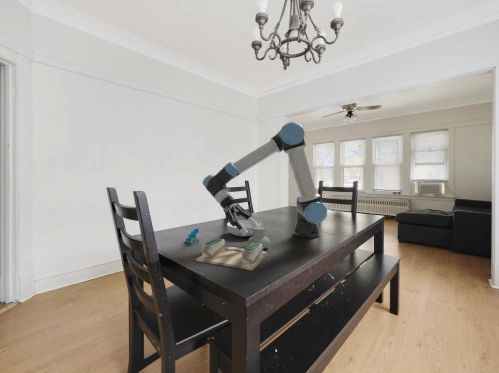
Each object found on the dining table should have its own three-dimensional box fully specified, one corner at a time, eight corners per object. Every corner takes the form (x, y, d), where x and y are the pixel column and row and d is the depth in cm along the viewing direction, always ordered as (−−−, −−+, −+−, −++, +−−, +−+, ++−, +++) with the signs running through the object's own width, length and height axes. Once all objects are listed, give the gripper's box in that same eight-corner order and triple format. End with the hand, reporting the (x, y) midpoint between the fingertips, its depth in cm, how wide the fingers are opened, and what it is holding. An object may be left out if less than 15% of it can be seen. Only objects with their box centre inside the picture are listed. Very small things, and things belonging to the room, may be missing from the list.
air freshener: (245, 247, 117) (245, 227, 116) (256, 243, 122) (256, 225, 122) (261, 252, 109) (261, 231, 108) (272, 248, 115) (272, 228, 114)
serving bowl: (221, 238, 134) (221, 226, 133) (234, 229, 154) (234, 219, 153) (256, 240, 128) (256, 228, 127) (265, 231, 148) (264, 220, 147)
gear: (184, 237, 130) (197, 224, 130) (192, 243, 132) (204, 231, 132) (183, 245, 120) (197, 232, 120) (192, 252, 121) (205, 239, 122)
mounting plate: (267, 254, 106) (267, 241, 105) (252, 270, 89) (252, 254, 89) (217, 248, 116) (217, 235, 115) (196, 260, 99) (195, 246, 99)
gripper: (231, 201, 134) (256, 229, 129) (207, 207, 111) (236, 242, 106) (239, 192, 131) (265, 220, 126) (216, 197, 108) (246, 231, 103)
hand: (251, 230), depth 116 cm, fingers open, 13 cm apart
